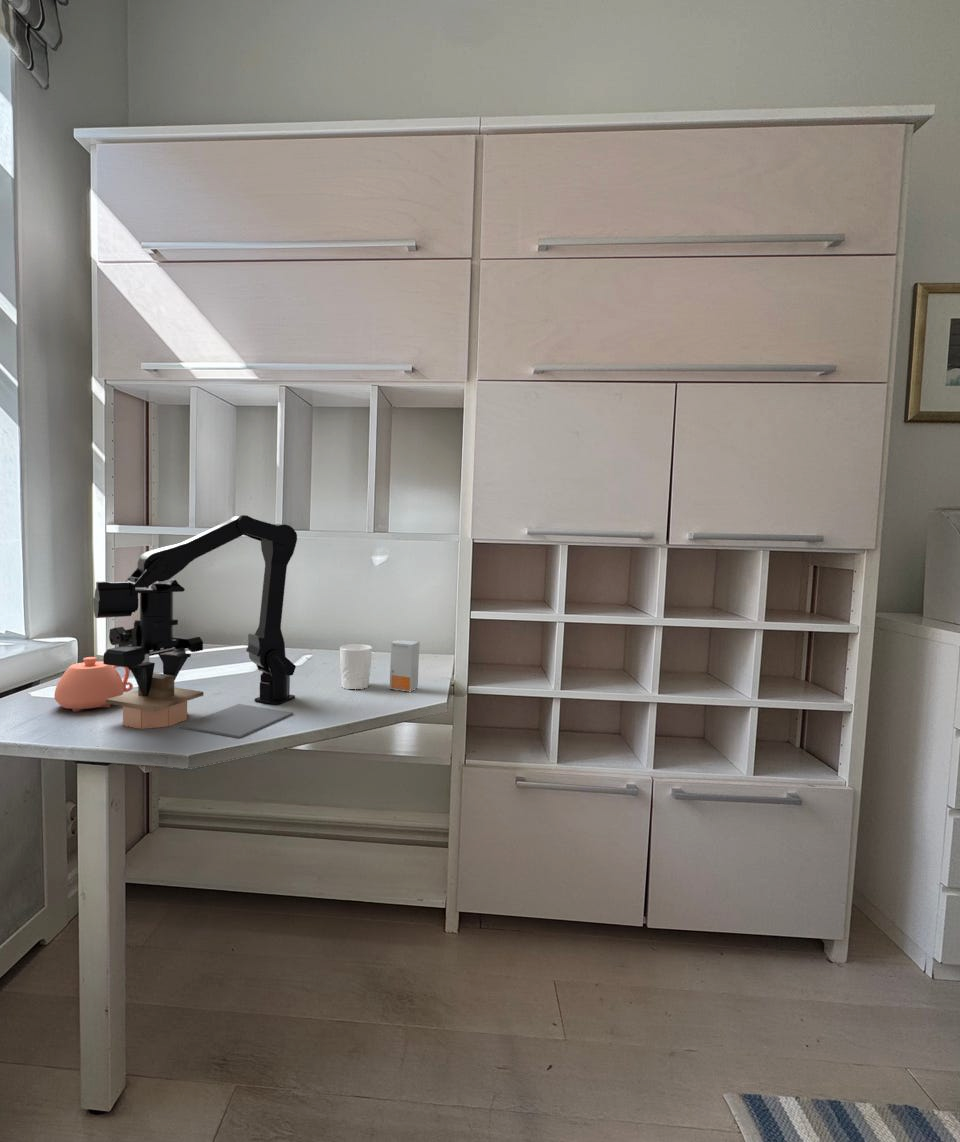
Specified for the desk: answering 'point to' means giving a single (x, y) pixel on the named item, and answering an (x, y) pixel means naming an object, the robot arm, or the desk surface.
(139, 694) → the cover
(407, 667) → the skincare box
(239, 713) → the mat
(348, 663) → the white cup
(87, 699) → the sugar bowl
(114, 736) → the desk surface
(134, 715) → the bowl
